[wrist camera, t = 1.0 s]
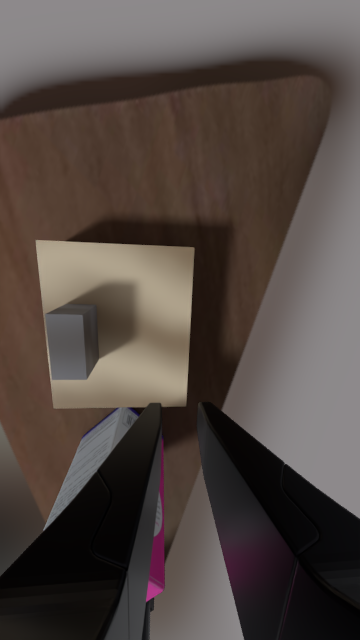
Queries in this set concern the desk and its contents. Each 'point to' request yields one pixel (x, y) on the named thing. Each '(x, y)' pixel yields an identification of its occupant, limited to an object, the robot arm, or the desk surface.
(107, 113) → the desk surface
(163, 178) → the desk surface
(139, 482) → the robot arm
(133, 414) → the supplement box
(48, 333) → the lid
